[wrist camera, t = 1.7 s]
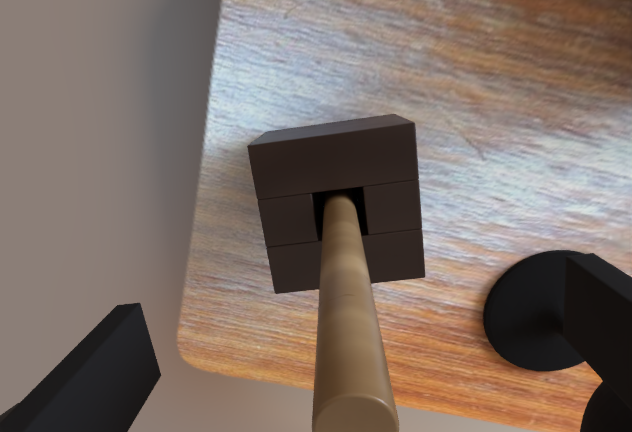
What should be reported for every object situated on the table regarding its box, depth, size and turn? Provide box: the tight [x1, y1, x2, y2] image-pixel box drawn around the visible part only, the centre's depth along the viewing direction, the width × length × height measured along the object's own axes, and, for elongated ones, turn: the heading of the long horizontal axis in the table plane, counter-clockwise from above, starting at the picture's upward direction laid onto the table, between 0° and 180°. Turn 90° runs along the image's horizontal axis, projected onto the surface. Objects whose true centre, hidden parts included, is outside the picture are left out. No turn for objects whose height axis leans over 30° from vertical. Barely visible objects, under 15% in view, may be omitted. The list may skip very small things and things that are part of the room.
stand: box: [247, 114, 425, 294], centre depth 26 cm, size 9×9×7 cm
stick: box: [312, 188, 399, 432], centre depth 19 cm, size 2×2×22 cm
